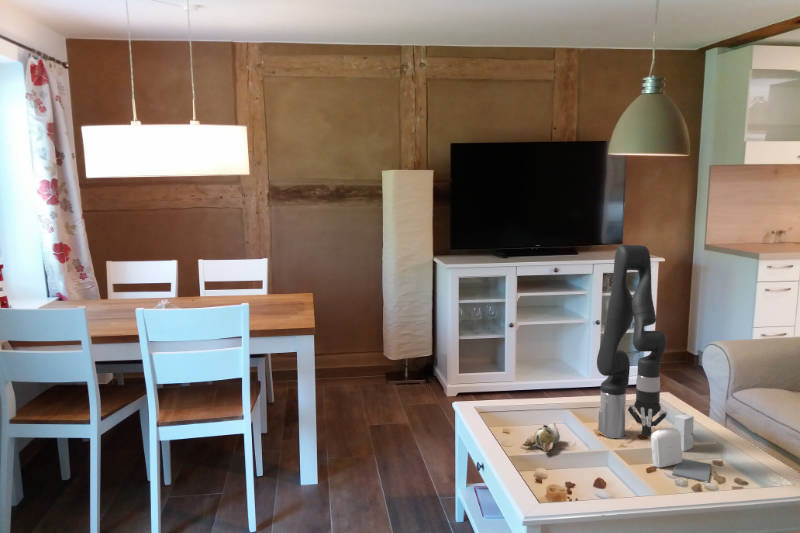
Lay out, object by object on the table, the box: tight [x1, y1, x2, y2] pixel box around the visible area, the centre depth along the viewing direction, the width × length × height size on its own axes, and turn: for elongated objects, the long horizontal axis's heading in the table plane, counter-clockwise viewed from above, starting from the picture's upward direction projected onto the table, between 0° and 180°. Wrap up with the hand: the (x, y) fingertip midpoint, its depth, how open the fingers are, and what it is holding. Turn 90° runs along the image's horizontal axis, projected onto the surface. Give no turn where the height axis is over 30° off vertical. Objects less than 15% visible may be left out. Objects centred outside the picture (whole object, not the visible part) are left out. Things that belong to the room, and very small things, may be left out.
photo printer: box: [650, 427, 683, 469], centre depth 199 cm, size 10×4×12 cm, turn 105°
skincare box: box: [673, 412, 695, 452], centre depth 213 cm, size 6×4×12 cm
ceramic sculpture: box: [522, 422, 561, 453], centre depth 215 cm, size 11×9×15 cm
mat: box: [671, 457, 712, 482], centre depth 196 cm, size 10×14×1 cm
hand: (646, 435), depth 202 cm, fingers closed
